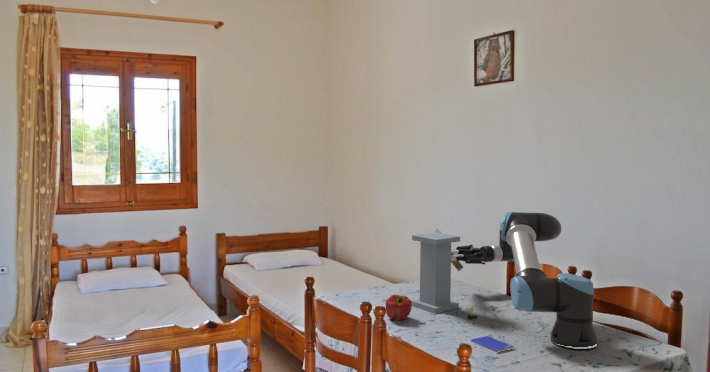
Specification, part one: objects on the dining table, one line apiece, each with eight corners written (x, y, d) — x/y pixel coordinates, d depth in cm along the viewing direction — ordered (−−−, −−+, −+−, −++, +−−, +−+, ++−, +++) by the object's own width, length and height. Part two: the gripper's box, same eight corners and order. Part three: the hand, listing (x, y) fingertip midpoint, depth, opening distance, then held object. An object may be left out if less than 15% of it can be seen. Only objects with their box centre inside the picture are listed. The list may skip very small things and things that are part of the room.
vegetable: (417, 321, 220) (417, 296, 220) (392, 324, 217) (393, 298, 216) (404, 314, 231) (404, 289, 230) (380, 316, 227) (381, 291, 226)
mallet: (435, 242, 250) (443, 235, 250) (428, 235, 255) (437, 228, 255) (460, 273, 264) (468, 266, 264) (454, 265, 269) (462, 259, 269)
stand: (434, 313, 232) (436, 239, 230) (411, 305, 243) (412, 235, 241) (458, 307, 240) (460, 236, 238) (434, 300, 251) (435, 232, 249)
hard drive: (514, 346, 191) (488, 335, 202) (496, 350, 187) (470, 339, 198) (514, 350, 191) (487, 339, 202) (496, 355, 187) (470, 343, 198)
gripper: (497, 270, 265) (454, 272, 255) (479, 251, 278) (437, 252, 269) (502, 256, 262) (458, 258, 252) (483, 238, 275) (441, 239, 266)
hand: (447, 255), depth 261 cm, fingers closed on mallet, 3 cm apart
